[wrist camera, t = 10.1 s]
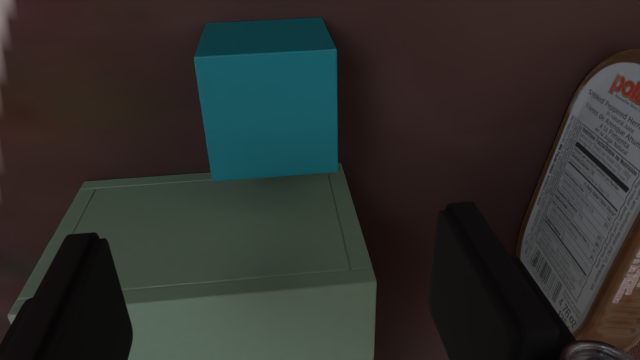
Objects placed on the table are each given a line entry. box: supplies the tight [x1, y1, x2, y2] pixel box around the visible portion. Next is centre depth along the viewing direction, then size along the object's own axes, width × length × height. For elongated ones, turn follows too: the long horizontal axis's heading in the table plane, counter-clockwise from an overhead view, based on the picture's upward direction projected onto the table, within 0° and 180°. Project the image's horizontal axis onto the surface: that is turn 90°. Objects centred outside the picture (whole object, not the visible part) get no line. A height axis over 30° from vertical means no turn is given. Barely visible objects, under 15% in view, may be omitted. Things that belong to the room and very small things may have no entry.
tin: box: [516, 48, 640, 352], centre depth 24 cm, size 15×3×8 cm, turn 172°
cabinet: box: [8, 163, 377, 360], centre depth 26 cm, size 15×13×9 cm
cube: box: [194, 17, 338, 182], centre depth 22 cm, size 5×5×5 cm
